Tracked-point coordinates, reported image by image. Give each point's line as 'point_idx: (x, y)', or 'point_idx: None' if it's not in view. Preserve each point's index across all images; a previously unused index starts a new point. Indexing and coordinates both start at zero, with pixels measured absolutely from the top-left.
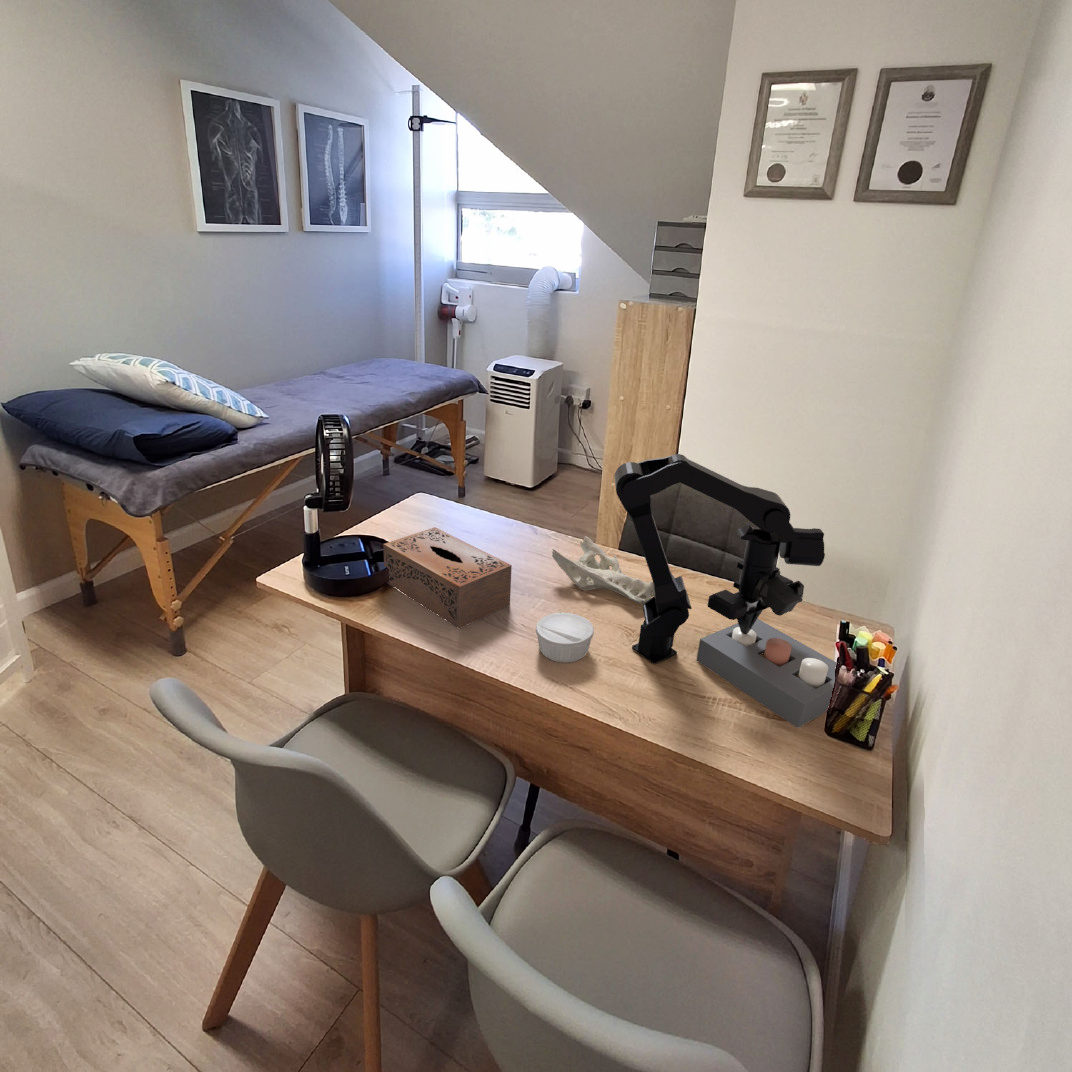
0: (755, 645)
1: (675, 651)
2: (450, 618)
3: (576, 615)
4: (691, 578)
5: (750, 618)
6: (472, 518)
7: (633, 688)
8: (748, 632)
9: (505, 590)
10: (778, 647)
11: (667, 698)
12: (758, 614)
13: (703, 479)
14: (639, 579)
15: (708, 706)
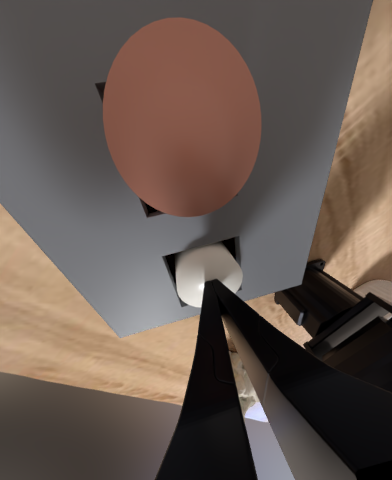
0: (207, 234)
1: None
2: None
3: None
4: (138, 388)
5: (270, 341)
6: (260, 414)
7: (386, 220)
8: (206, 283)
9: None
10: (217, 113)
11: (384, 181)
12: (208, 369)
13: None
14: (243, 395)
15: (366, 126)
